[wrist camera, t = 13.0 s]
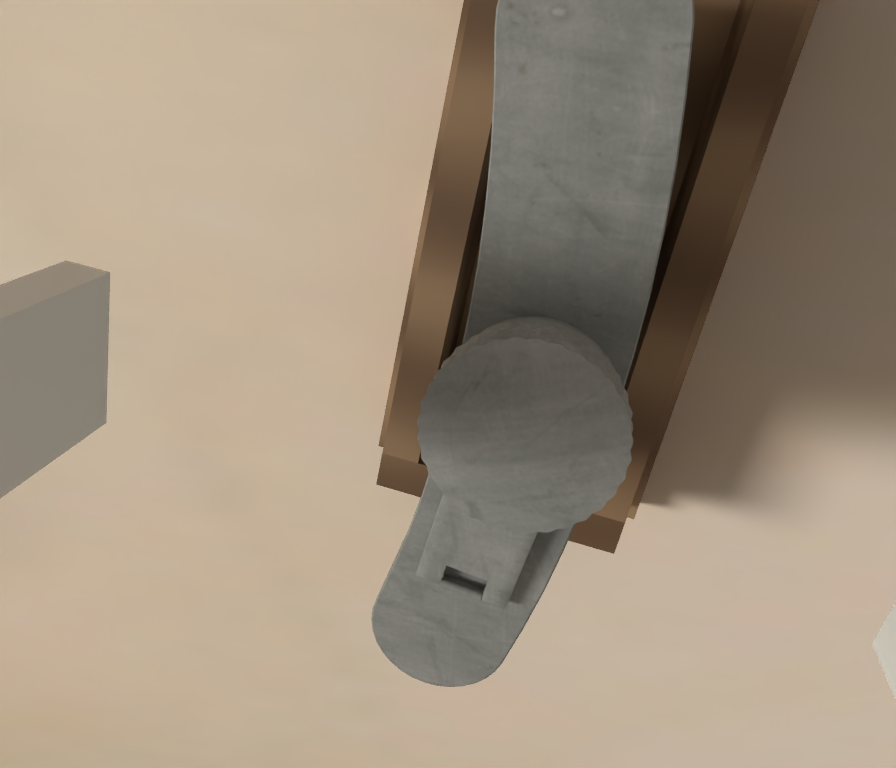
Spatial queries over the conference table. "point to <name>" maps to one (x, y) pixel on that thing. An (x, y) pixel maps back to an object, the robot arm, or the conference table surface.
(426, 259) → the u rest
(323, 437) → the conference table surface
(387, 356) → the conference table surface
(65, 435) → the robot arm
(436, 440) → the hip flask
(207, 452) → the conference table surface
